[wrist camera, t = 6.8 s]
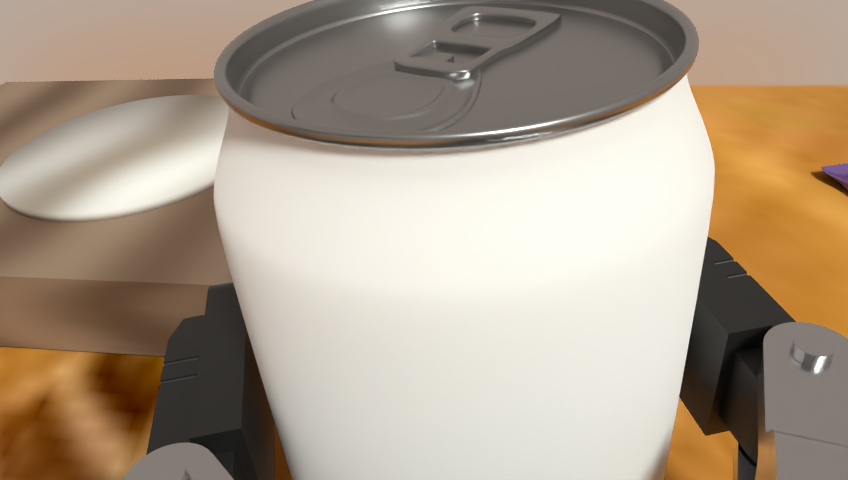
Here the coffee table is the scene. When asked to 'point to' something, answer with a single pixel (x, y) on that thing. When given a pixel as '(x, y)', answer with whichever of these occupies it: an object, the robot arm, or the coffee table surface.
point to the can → (467, 233)
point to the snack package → (838, 173)
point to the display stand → (107, 212)
